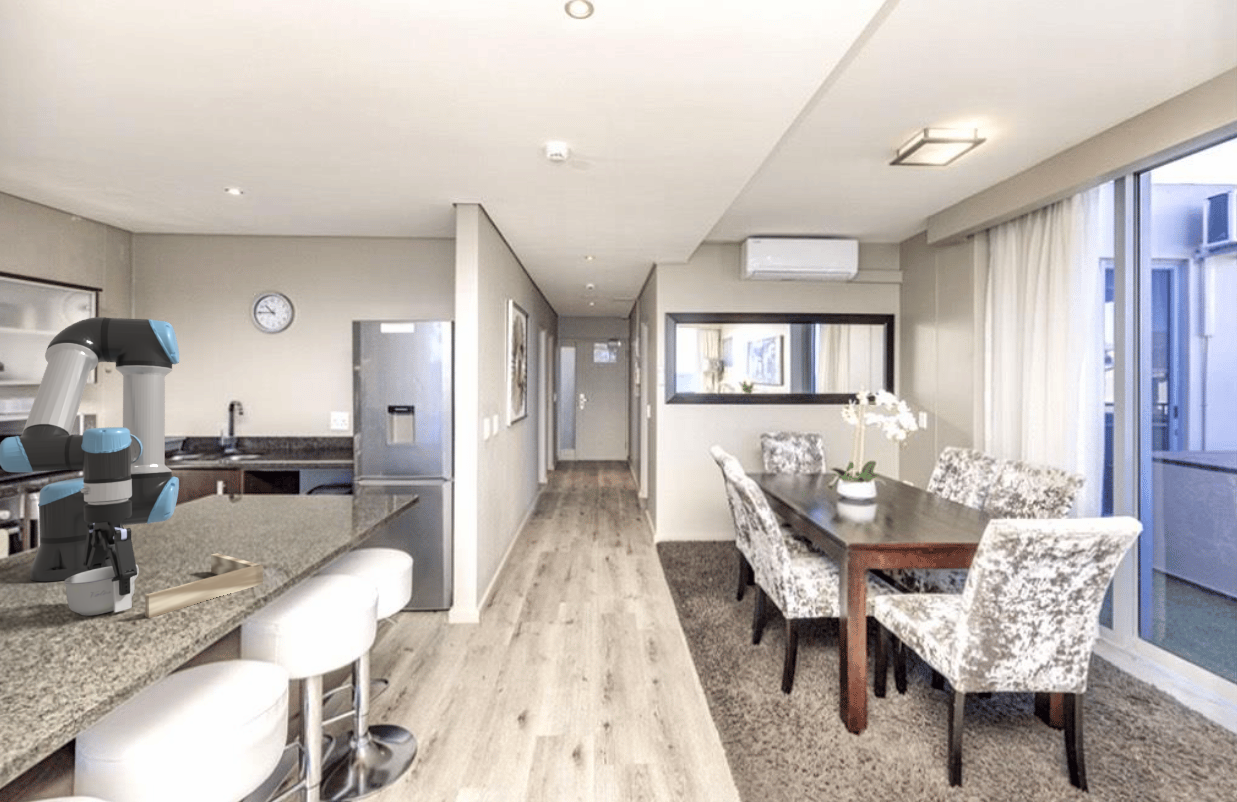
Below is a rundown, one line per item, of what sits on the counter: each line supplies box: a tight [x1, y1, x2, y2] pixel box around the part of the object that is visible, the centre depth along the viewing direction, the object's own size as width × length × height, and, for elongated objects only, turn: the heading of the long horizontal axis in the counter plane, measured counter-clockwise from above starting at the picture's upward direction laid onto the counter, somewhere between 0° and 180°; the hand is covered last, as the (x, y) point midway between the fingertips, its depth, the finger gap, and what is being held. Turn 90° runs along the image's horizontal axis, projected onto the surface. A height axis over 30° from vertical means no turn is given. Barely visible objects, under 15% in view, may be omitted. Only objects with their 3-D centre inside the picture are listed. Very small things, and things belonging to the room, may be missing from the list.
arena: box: [144, 552, 264, 619], centre depth 129 cm, size 20×22×4 cm
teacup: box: [63, 564, 140, 616], centre depth 120 cm, size 14×11×8 cm
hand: (109, 604), depth 120 cm, fingers closed on teacup, 11 cm apart
